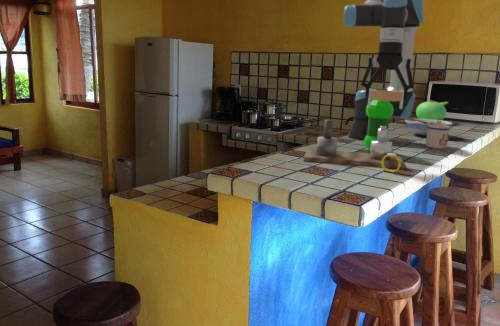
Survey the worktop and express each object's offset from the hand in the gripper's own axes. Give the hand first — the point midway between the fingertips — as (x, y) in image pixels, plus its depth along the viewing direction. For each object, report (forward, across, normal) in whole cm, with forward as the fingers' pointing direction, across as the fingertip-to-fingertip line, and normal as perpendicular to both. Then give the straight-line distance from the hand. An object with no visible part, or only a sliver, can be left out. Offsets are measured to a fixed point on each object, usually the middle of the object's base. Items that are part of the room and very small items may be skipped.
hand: (384, 107), depth 152 cm
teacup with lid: (+20, +27, +44) cm, 56 cm away
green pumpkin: (+19, +39, +140) cm, 146 cm away
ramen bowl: (+20, +28, +79) cm, 86 cm away
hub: (+18, 0, 0) cm, 18 cm away
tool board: (+19, -9, 0) cm, 22 cm away
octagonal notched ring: (-3, 0, 0) cm, 3 cm away
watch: (+20, +3, -13) cm, 24 cm away
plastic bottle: (+20, 0, +22) cm, 29 cm away
